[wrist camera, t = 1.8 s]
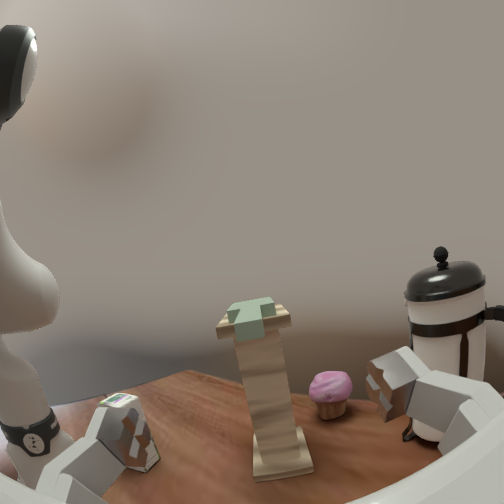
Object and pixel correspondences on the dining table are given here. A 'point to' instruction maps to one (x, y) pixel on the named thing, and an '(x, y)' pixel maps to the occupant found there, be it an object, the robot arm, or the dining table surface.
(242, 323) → the spatula
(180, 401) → the dining table surface
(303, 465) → the stand
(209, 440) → the dining table surface
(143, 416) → the syrup box
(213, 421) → the dining table surface
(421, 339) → the coffee press
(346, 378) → the cupcake
